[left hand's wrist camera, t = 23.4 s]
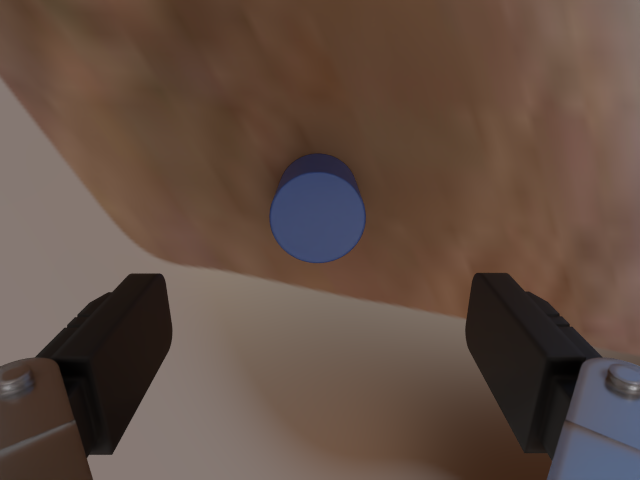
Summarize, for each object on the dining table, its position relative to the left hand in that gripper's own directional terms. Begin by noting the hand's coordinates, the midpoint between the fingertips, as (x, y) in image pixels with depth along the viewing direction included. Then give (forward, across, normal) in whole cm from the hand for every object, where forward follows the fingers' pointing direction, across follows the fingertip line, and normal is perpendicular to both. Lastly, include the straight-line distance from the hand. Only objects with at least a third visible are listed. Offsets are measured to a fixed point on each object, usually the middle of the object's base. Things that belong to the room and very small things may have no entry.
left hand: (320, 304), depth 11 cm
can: (+12, 0, 0) cm, 12 cm away
